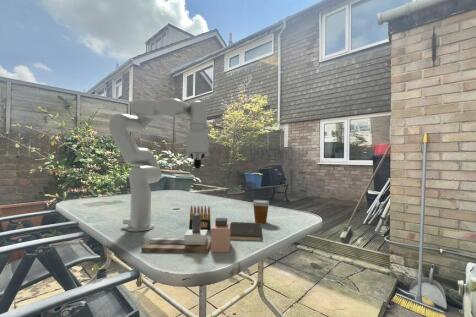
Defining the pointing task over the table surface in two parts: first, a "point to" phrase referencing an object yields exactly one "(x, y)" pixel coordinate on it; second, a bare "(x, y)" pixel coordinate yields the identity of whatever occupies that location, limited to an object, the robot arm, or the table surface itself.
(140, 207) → the robot arm
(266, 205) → the disposable coffee cup
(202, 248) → the rail bed
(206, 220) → the ammunition clip
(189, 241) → the carriage
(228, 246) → the pink block
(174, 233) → the table surface
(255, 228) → the hardcover book
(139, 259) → the table surface
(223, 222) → the button
